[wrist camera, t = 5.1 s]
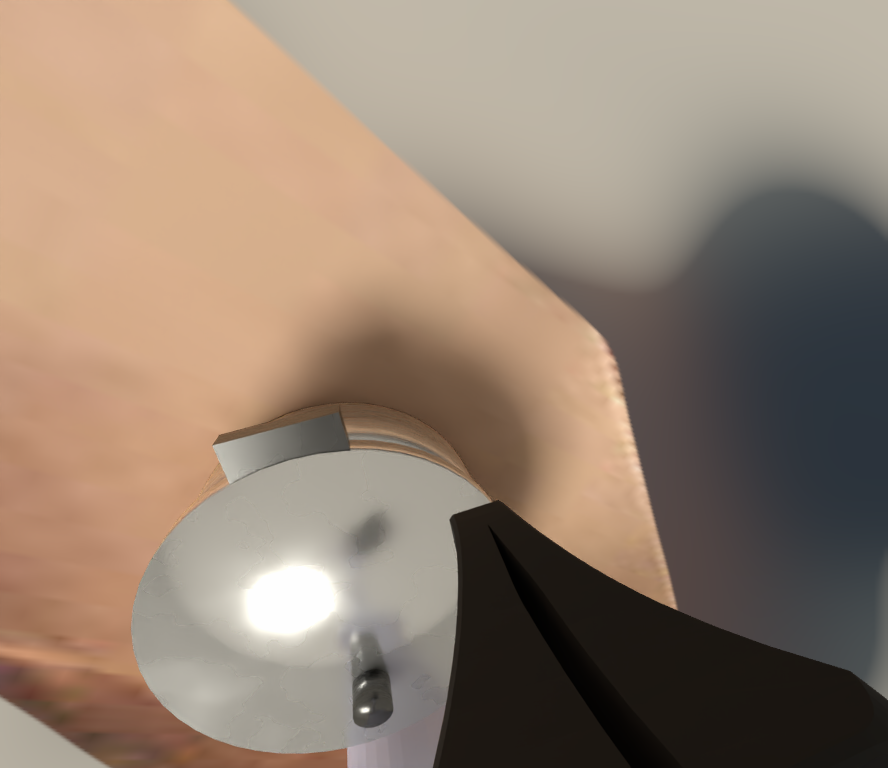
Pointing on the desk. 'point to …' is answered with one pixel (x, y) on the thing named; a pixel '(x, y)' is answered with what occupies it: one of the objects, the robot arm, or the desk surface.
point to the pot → (378, 433)
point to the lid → (307, 590)
